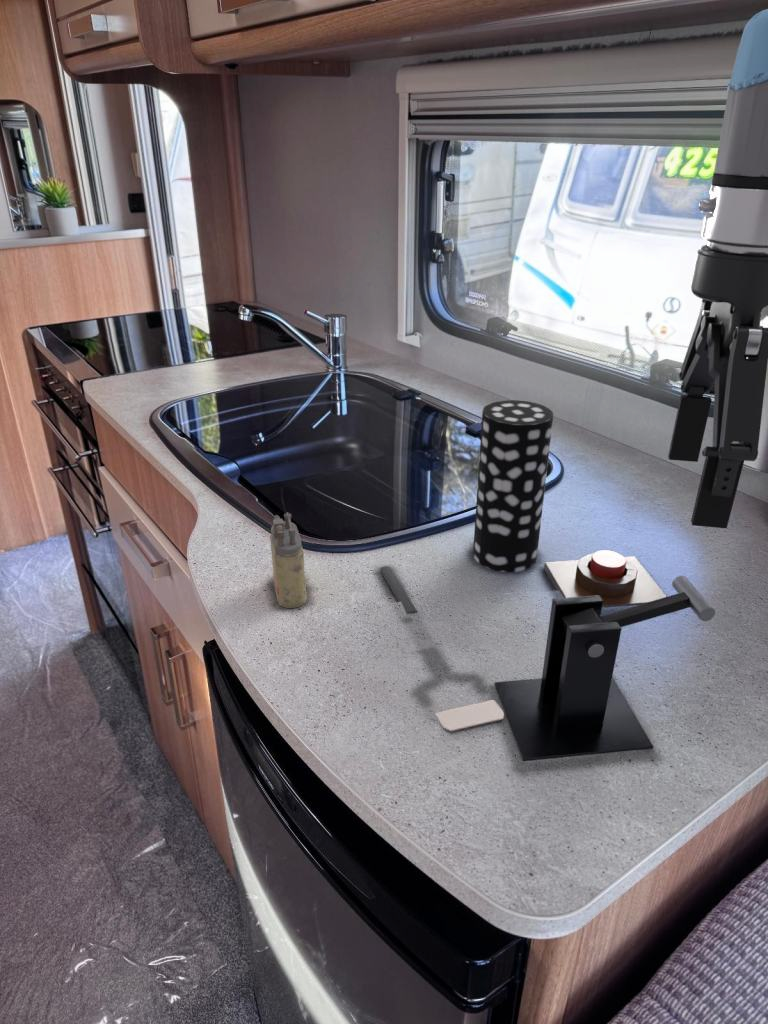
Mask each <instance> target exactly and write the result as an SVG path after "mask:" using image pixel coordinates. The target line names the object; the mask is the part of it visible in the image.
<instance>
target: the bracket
mask: <svg viewBox="0 0 768 1024" xmlns="http://www.w3.org/2000/svg"><path fill="white" fill-rule="evenodd" d="M602 605H603V600H602V599H601V597H600V596H599V595H595V596H582V597H568V598H564V597H557V598H552V600H551V607H550V613H549V614H550V616H549V621H548V629H547V636H546V637H547V638H546V644H545V652H544V660H543V666H542V667H543V668H542V674H541V677H540V678H529V679H518V680H506V681H495V682H494V687H495V690H496V693H497V695H498V697H499V700H500V703H501V706H502V708H503V712H504V715H505V716H506V719H507V721H508V724H509V727H510V730H511V732H512V735H513V738H514V740H515V743H516V745H517V749H518V751H519V754H520V756H521V759H522V761H523V762H528V761H540V760H548V759H560V758H568V757H569V758H570V757H580V756H589V755H590V756H591V755H598V754H599V755H600V754H610V753H621V752H631V751H632V752H633V751H641V750H650V749H651V750H652V749H654V745H653V743H652V741H651V740H650V738H649V736H648V735H647V733H646V732H645V729H644V728H643V726H642V725H641V723H640V721H639V720H638V718H637V716H636V714H635V713H634V711H633V710H632V708H631V706H630V704H629V703H628V702H627V700H626V698H625V696H624V694H623V693H622V691H621V690H620V688H619V686H618V684H617V682H616V681H615V679H614V677H613V676H614V669H615V664H616V659H617V655H618V649H619V644H620V639H621V634H622V627H620V626H619V624H618V623H617V622H610V623H597V624H584V625H572V626H568V628H567V635H565V629H564V624H563V618H562V617H563V616H566V615H569V614H573V613H576V612H579V611H583V610H586V609H590V608H593V610H594V611H595V613H596V614H597V616H598V617H599V616H602V612H603V611H602V610H603V608H602Z"/></svg>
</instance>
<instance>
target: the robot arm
mask: <svg viewBox="0 0 768 1024" xmlns="http://www.w3.org/2000/svg"><path fill="white" fill-rule="evenodd" d="M726 91H727V97H726V101H725V106H724V107H725V108H724V113H723V119H722V125H721V131H720V136H719V142H718V147H717V153H716V158H715V165H714V171H713V174H712V180H711V186H710V189H709V194H710V195H709V198H702V199H701V200H700V201H699V202H698V203H699V204H698V210H699V212H701V213H705V216H704V220H703V225H702V228H701V229H702V230H701V234H700V235H701V237H702V238H703V240H705V242H707V244H704V245H702V246H701V247H700V249H698V250H697V251H696V255H695V261H694V265H693V271H692V276H691V281H690V291H691V294H693V295H694V296H695V297H696V298H699V299H701V305H700V310H699V313H698V317H697V319H696V323H695V326H694V328H693V332H692V336H691V338H690V341H689V343H688V346H687V350H686V353H685V355H684V358H683V362H682V365H681V368H680V371H679V372H678V379H679V381H680V382H681V384H680V388H679V389H680V392H681V394H680V397H679V401H678V406H677V411H676V415H675V421H674V426H673V431H672V435H671V440H670V445H669V451H668V455H667V457H668V460H669V461H680V462H681V461H683V462H691V463H692V462H694V463H696V462H697V463H698V462H699V458H700V453H701V454H702V457H705V458H704V463H703V467H702V471H701V475H700V479H699V485H698V489H697V494H696V497H695V502H694V506H693V510H692V515H691V519H690V522H691V523H690V524H691V525H692V526H695V527H707V528H715V529H717V528H718V529H725V530H726V529H728V524H729V521H730V517H731V513H732V509H733V506H734V502H735V498H736V494H737V490H738V487H739V483H740V479H741V475H742V471H743V468H744V463H745V462H756V460H757V459H758V456H759V443H760V435H761V426H762V425H761V424H762V416H763V407H764V397H765V388H766V380H767V371H768V327H764V326H763V325H761V320H762V311H763V309H764V308H766V307H767V306H768V8H766V9H763V10H761V11H758V12H757V13H756V14H754V15H753V16H752V17H751V18H750V19H748V21H747V23H746V24H745V26H744V29H743V31H742V34H741V37H740V42H739V46H738V48H737V52H736V55H735V59H734V64H733V68H732V72H731V76H730V80H729V82H728V84H727V88H726ZM704 395H710V396H704ZM711 396H714V397H713V399H712V398H711ZM712 400H713V423H712V445H711V446H707V445H706V446H705V447H704V448H703V449H702V444H703V440H704V436H705V431H706V427H707V424H708V423H707V422H708V417H709V413H710V410H711V404H712Z"/></svg>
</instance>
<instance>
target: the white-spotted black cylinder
mask: <svg viewBox="0 0 768 1024" xmlns="http://www.w3.org/2000/svg"><path fill="white" fill-rule="evenodd" d="M553 422H554V412H553V411H552V410H551V408H549V407H547V406H545V405H544V404H540V403H537V402H533V401H527V400H517V399H515V400H514V399H511V400H510V399H509V400H508V399H507V400H497V401H493V402H491V403H490V402H489V403H488V404H486V405H485V406H484V407H483V408H482V414H481V426H480V442H479V443H480V444H479V459H478V473H477V487H476V488H477V489H476V502H475V515H474V516H475V517H474V533H473V547H472V556H473V559H475V561H476V562H477V563H478V564H479V565H480V566H483V567H485V568H486V569H488V570H491V571H496V572H501V573H516V572H517V573H518V572H523V571H525V570H528V569H530V568H532V567H533V566H534V565H535V564H536V562H537V559H538V550H539V542H540V534H541V526H542V525H541V524H542V518H543V517H542V516H543V509H544V508H543V507H544V499H545V492H546V491H545V490H546V482H547V473H548V465H549V456H550V447H551V439H552V430H553Z"/></svg>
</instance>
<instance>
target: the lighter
mask: <svg viewBox="0 0 768 1024" xmlns="http://www.w3.org/2000/svg"><path fill="white" fill-rule="evenodd" d="M283 517H284V518H281V517H280V516H279V514H278V515H277V514H275V515H274V516H273V519H272V526H271V527H270V536H269V538H270V539H269V540H270V552H271V562H272V563H271V564H272V572H273V586H274V591H275V595H276V600H277V603H278V605H279V606H281V607H283V608H287V609H295V608H299V607H301V606H303V605H304V604H306V602H307V600H308V597H307V591H308V587H307V586H306V572H305V555H304V549H303V545H302V540H301V535H300V533H299V529H298V527H297V524H295V523H294V522H292V513H290V512H286V513H284V514H283ZM283 519H284V520H283Z"/></svg>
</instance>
